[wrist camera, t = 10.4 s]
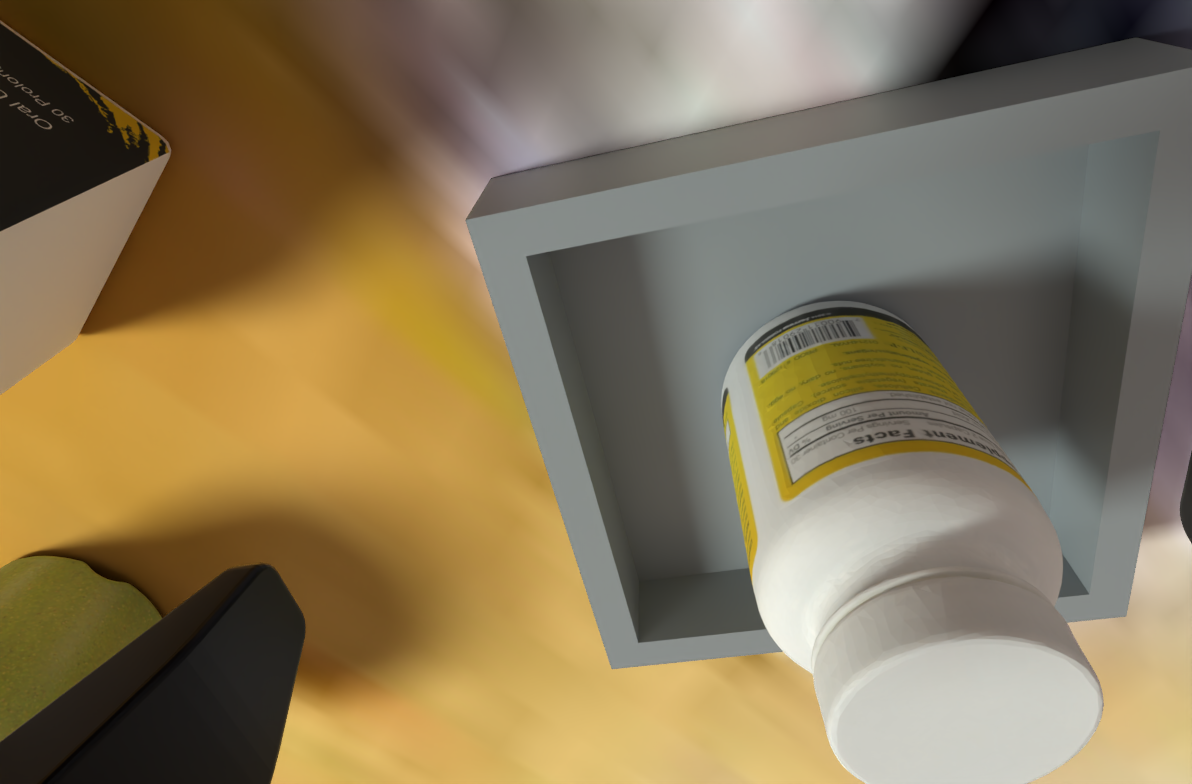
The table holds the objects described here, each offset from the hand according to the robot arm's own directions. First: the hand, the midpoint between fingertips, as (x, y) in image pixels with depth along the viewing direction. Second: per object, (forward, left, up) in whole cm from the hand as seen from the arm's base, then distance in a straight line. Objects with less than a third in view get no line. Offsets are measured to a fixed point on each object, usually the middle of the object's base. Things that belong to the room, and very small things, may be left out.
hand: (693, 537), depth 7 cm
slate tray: (+6, +3, -12) cm, 14 cm away
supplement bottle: (+6, +3, -12) cm, 13 cm away
